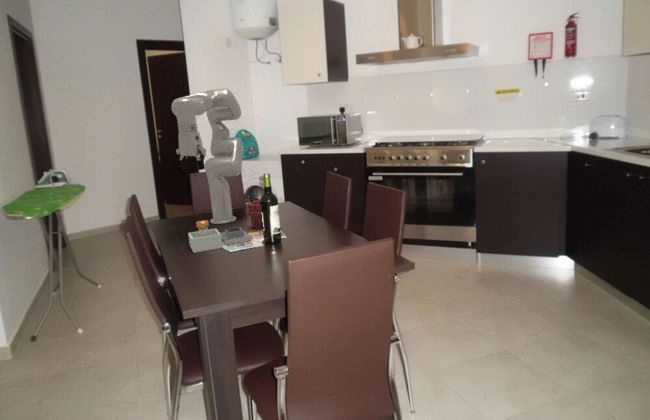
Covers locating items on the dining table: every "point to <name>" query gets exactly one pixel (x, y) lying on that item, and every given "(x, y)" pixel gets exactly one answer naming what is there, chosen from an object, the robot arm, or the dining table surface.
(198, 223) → the copper-capped metal peg
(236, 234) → the white base with recess
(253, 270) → the dining table surface
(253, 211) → the mechanical component
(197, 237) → the bin
